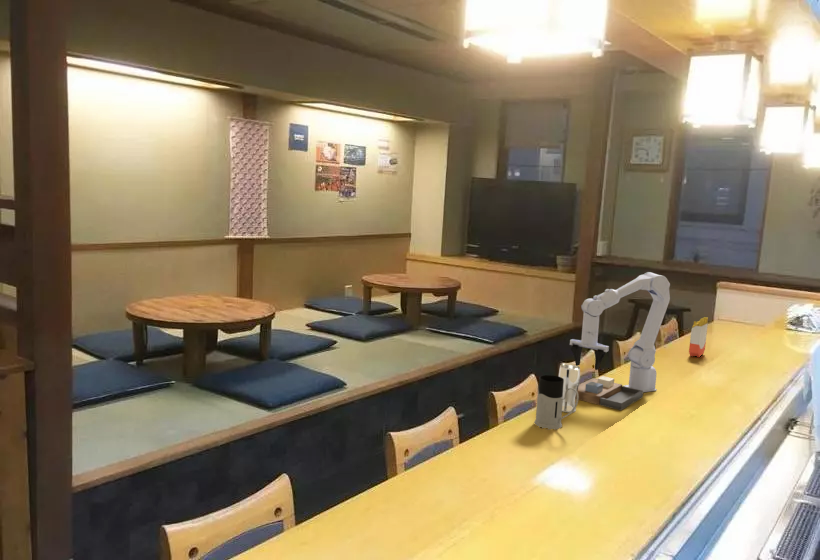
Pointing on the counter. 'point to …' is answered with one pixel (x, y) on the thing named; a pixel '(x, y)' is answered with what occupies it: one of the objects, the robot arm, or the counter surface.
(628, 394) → the tray
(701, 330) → the french fries container
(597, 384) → the blue-gray block
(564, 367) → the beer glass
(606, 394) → the walnut board
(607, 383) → the white tile
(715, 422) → the counter surface
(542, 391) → the grey black mug
